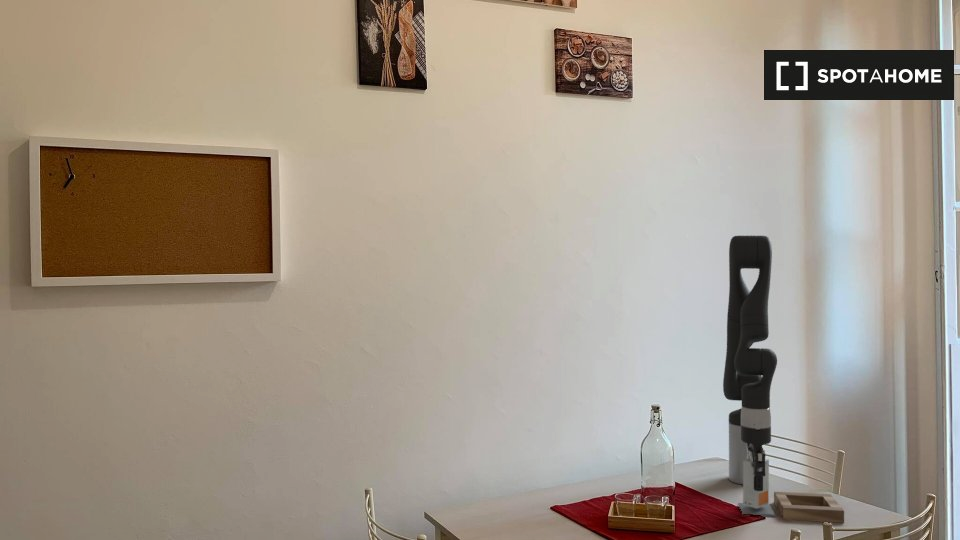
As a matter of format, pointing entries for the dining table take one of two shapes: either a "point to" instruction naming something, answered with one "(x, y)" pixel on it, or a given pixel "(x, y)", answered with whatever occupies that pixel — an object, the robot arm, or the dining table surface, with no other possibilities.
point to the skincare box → (749, 494)
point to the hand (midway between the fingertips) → (756, 485)
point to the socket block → (808, 507)
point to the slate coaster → (757, 510)
